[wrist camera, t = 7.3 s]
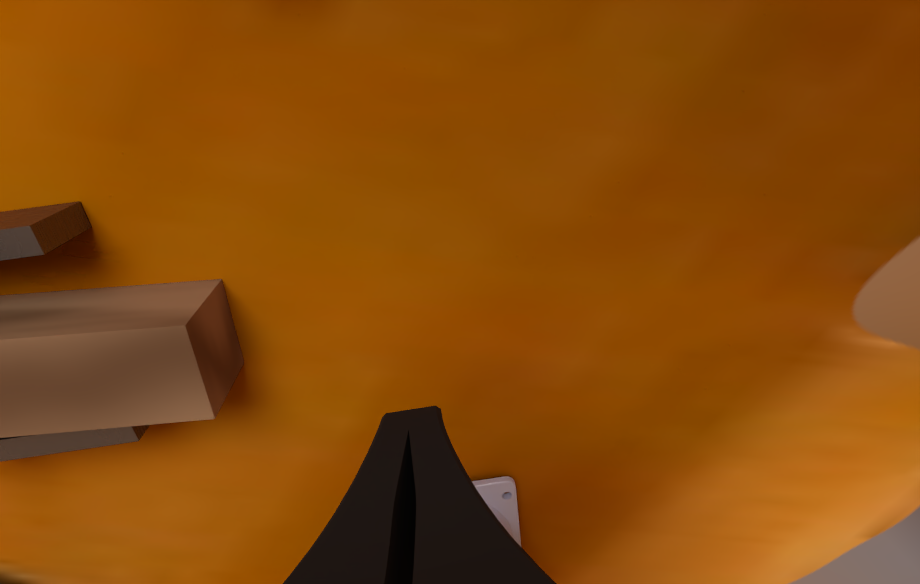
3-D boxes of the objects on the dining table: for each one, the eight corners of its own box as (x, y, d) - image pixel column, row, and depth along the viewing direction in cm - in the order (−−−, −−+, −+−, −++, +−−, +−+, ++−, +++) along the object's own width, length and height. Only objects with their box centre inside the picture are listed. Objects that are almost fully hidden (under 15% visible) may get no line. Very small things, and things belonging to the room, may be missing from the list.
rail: (245, 359, 23) (214, 418, 19) (8, 379, 22) (-69, 444, 19) (223, 277, 21) (185, 325, 17) (-35, 296, 20) (-130, 349, 17)
